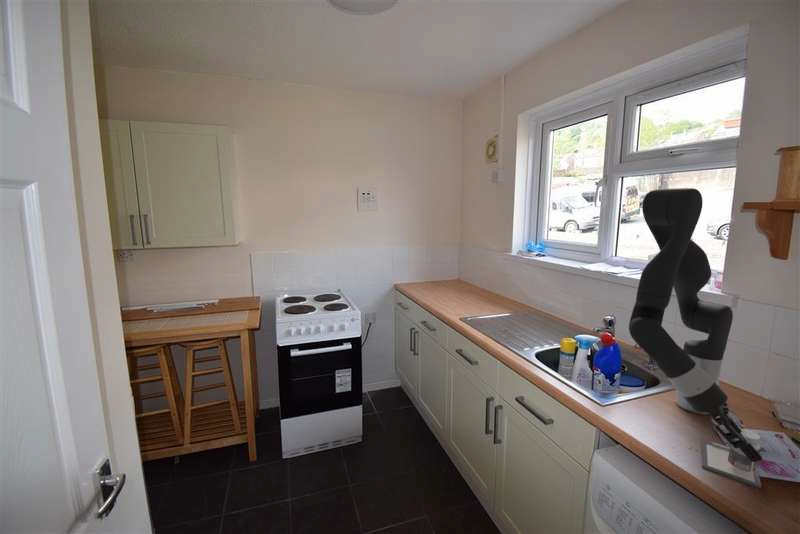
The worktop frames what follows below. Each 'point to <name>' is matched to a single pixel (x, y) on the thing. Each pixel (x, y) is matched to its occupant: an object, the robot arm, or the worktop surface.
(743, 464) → the pill bottle
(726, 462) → the tray
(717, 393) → the robot arm
